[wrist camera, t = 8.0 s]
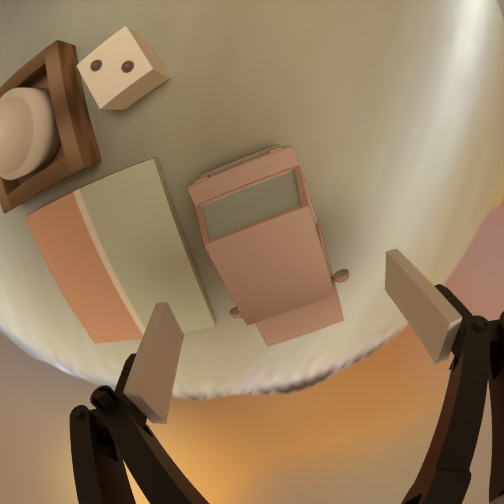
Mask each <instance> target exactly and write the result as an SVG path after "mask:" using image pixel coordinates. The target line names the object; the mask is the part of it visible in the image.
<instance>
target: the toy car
mask: <svg viewBox="0 0 504 504" xmlns="http://www.w3.org/2000/svg"><path fill="white" fill-rule="evenodd" d="M187 190H188V192H189V194H190V196H191V198H192V200H193V203H194V205H195V208H196V213H197V217H198V222H199V226H200V230H201V235H202V239H203V243H204V246H205V248H206V250H207V252H208V254H209V256H210V258H211V260H212V262H213V264H214V266H215V267H216V269H217V271H218V273H219V275H220V277H221V279H222V281H223V282H224V284H225V286H226V288H227V290H228V292H229V293H230V295H231V297H232V299H233V301H234V303H235V304H236V306H237V307H235V308H232V309H231V310H230V314H231V315H232V316H233V317H234V318H241V317H243V319H244V321H245V322H246V324H247V325H249V324H253V323H255V324H256V326H257V328H258V330H259V331H260V333H261V335H262V337H263V339H264V341H265V343H266V344H267V346H271V345H274V344H277V343H280V342H284V341H287V340H290V339H293V338H296V337H299V336H302V335H305V334H308V333H311V332H313V331H316V330H319V329H322V328H325V327H327V326H330V325H333V324H335V323H338V322H341V321H343V320H344V318H343V314H342V310H341V305H340V301H339V297H338V293H337V289H336V285H335V281H336V282H339V283H341V282H344V281H346V280H347V279H348V277H349V270H347V269H342V270H339V271H337V272H336V273H335V274H334V276H333V274H332V270H331V266H330V263H329V259H328V255H327V252H326V248H325V245H324V241H323V238H322V232H321V229H320V226H319V225H318V221H317V218H316V215H315V212H314V209H313V205H312V202H311V199H310V196H309V193H308V190H307V187H306V184H305V179H304V176H303V174H302V172H301V170H300V167H299V164H298V161H297V158H296V155H295V153H294V150H293V147H292V146H285V147H283V146H281V145H280V144H277V145H275V146H272V147H269V148H266V149H264V150H261V151H258V152H256V153H253V154H250V155H248V156H245V157H243V158H240V159H238V160H235V161H233V162H230V163H228V164H225V165H223V166H221V167H218V168H216V169H214V170H211V171H209V172H207V173H204V174H202V175H200V176H199V179H197V180H196V181H195V183H193V184H192V185H190V186H189V187H187Z"/></svg>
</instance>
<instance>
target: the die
mask: <svg viewBox="0 0 504 504" xmlns="http://www.w3.org/2000/svg"><path fill="white" fill-rule="evenodd" d="M77 68H78V70H79V72H80V73H81V75H82V77H83V79H84V81H85V83H86V85H87V86H88V88H89V90H90V92H91V94H92V96H93V97H94V99H95V101H96V103H97V104H98V106H99V108H100V109H115V110H126V109H127V108H128V107H130V106H131V105H132V104H134V103H135V102H136V101H138V100H139V99H140V98H142V97H143V96H145V95H146V94H147V93H149V92H150V91H152V90H153V89H155V88H156V87H158V86H159V85H161V84H162V83H164V82H165V81H167V80H168V79H170V78H169V76H168V75H167V73H166V72H165V70H164V68H163V67H162V65H161V64H160V62H159V60H158V59H157V57H156V56H155V54H154V52H153V51H152V49H151V48H150V46H149V45H148V43H147V41H146V40H144V39H143V38H142V37H140V36H139V35H138V34H136V33H135V32H134V31H132V30H131V29H130V28H128V27H127V26H125V27H124V28H122V29H121V30H119V31H118V32H117V33H115V34H114V35H113V36H111V37H110V38H109V39H107V40H106V41H105V42H103V43H102V44H101V45H100V46H99V47H97V48H96V49H95V50H94V51H92V52H91V53H90V54H89V55H88V56H87V57H86V58H84V59H83V60H82V61H81V62H80V63H79V64H78V65H77Z"/></svg>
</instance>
